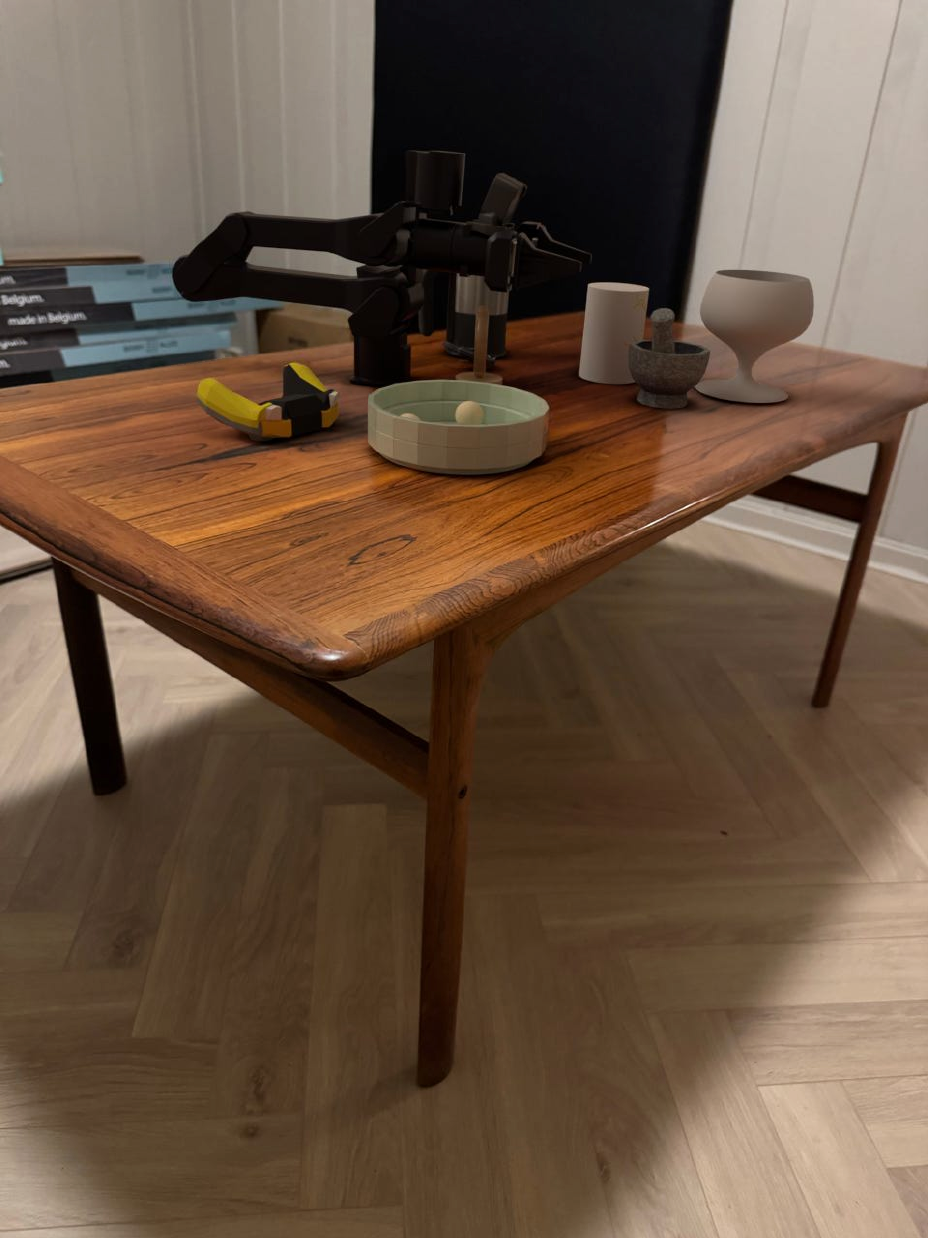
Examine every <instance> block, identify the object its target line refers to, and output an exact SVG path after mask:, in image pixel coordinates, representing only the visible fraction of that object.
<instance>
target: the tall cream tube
mask: <svg viewBox="0 0 928 1238" xmlns="http://www.w3.org/2000/svg"><path fill="white" fill-rule="evenodd" d="M649 294H650V288H649V287H647V286H644V285H640V284H639V285H638V284H634V283H623V282H591V283H588V284H587V291H586V302H585V311H584V320H583V330H582V340H581V351H580V360H579V369H578V377H579V378H581V379H583V380H585V381H589V382H592V383H598V384H604V385H605V384H606V385H628V384H633V383H636V382H635V381H634V379H633V377H632V375H631V372H630V369H629V356H628V354H629V347H630V344H631V343H633V342H635V341H637V340H644V332H645V326H646V325H645V324H646V317H647V309H648V301H649Z"/></svg>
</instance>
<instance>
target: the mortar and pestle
mask: <svg viewBox="0 0 928 1238" xmlns="http://www.w3.org/2000/svg"><path fill="white" fill-rule="evenodd" d="M649 318H650V319H649V320H650V323H651V324H652V330H651V332H652V333H651V334H652V335H651V339H643V340H637V341H635V342H633V343H631V344H630V347H629V354H628V356H629V369H630V372H631V375H632V377H633V379H634V381H635V382H634V383H636V384H637V386H638V387H639V388H640V389H639V391H638V393H637V398H636V401H637V402H638V403H639V404H641V405H644V406H648V407H651V408H656V409H667V410H668V409H669V410H673V409H682V408H684V407H685V406H687V405H688V392H689V391H690V390H692V389H693V388H695V385H697V384H698V383H699V382H701V379H703V377H704V375H705V373H706V371H707V367H708V365H709V362H710V355H711V350H710V349H709V348H707V347H705V346H703V345H701V344H696V343H691V342H687V341H682V340H675V332H674V321H675V319H676V315H675V313H674V311H673V310H672V309H670V308H667V307H664V308H663V307H662V308H661V307H660V308H657V309H656V310H654V311H652V312H651V315H650V316H649Z"/></svg>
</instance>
